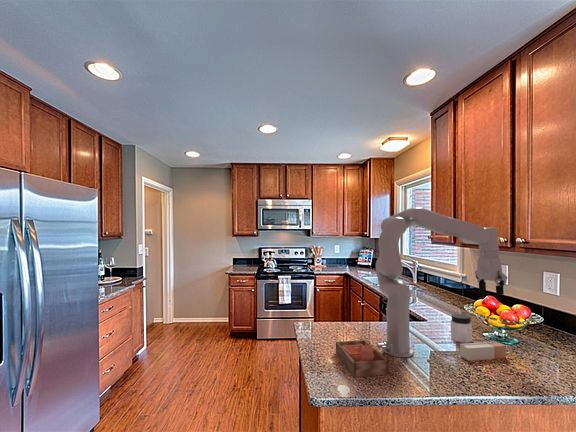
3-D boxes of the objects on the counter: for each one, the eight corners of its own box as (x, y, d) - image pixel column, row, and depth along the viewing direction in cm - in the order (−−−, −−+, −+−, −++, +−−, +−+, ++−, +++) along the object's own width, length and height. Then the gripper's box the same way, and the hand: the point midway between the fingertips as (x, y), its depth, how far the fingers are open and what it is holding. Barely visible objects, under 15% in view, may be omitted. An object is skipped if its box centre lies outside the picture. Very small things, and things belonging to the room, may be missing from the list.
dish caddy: (353, 376, 116) (353, 363, 116) (335, 353, 138) (335, 341, 138) (388, 374, 118) (388, 360, 118) (365, 351, 140) (364, 339, 140)
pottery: (341, 355, 136) (341, 332, 136) (361, 353, 138) (361, 331, 138) (360, 374, 118) (359, 348, 119) (382, 371, 120) (382, 345, 121)
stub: (495, 358, 130) (495, 346, 130) (486, 353, 135) (485, 341, 135) (506, 357, 131) (505, 345, 131) (496, 353, 136) (496, 341, 136)
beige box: (468, 360, 128) (468, 348, 128) (460, 355, 133) (459, 343, 133) (494, 358, 130) (494, 346, 130) (485, 354, 135) (485, 342, 135)
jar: (465, 345, 146) (464, 319, 147) (448, 340, 153) (447, 315, 154) (475, 341, 151) (474, 316, 152) (458, 337, 158) (457, 312, 159)
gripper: (467, 253, 150) (469, 289, 149) (497, 256, 133) (499, 297, 132) (481, 253, 151) (483, 288, 151) (512, 255, 134) (515, 296, 134)
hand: (490, 292), depth 142 cm, fingers open, 9 cm apart
